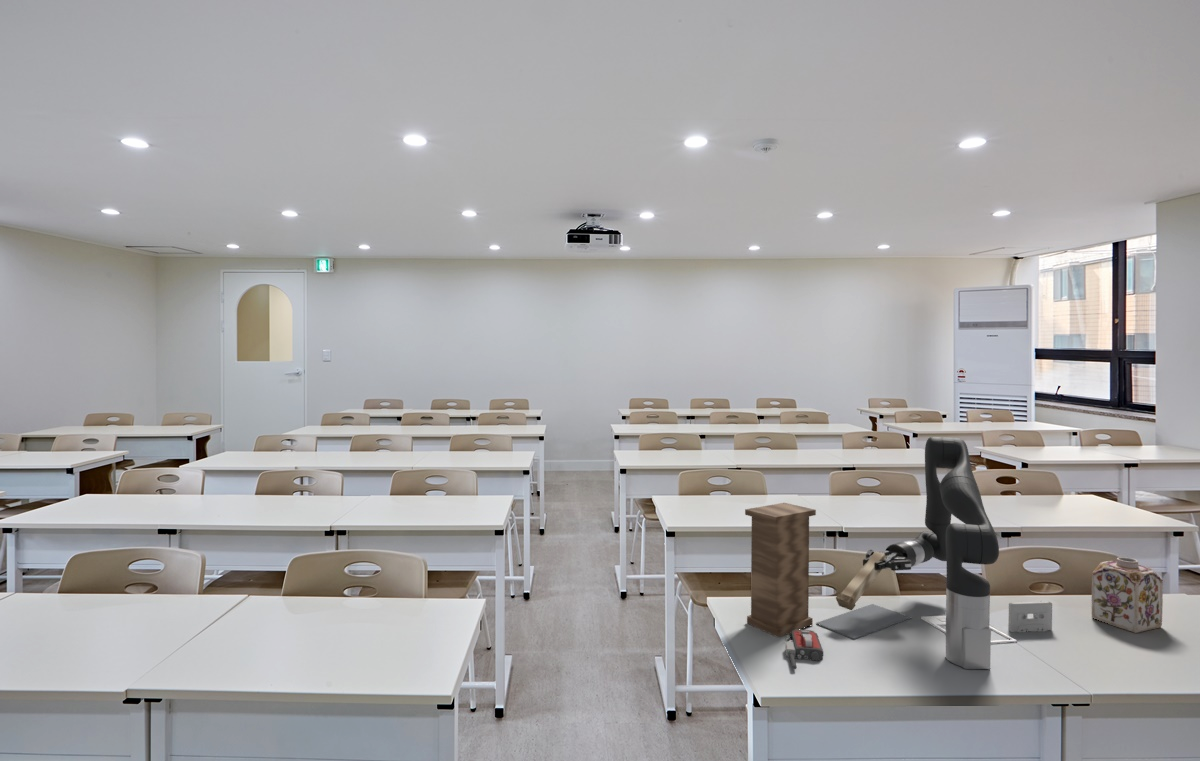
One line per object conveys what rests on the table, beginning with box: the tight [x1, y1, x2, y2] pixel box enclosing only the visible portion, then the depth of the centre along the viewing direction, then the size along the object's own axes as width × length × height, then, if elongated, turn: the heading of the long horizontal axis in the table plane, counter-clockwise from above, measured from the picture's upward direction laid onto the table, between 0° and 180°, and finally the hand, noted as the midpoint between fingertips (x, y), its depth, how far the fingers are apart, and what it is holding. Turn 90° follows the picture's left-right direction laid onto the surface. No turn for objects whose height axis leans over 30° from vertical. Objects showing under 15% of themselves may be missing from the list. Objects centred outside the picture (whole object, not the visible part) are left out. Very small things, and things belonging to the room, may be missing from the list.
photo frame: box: [920, 614, 1018, 645], centre depth 175 cm, size 15×1×18 cm
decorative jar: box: [1091, 556, 1164, 634], centre depth 180 cm, size 12×12×18 cm
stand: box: [744, 502, 817, 638], centre depth 179 cm, size 16×11×32 cm
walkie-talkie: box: [785, 629, 824, 670], centre depth 160 cm, size 9×4×20 cm
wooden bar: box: [835, 551, 887, 611], centre depth 181 cm, size 20×4×3 cm
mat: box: [816, 603, 911, 640], centre depth 181 cm, size 26×12×1 cm, turn 123°
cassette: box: [1007, 601, 1053, 633], centre depth 175 cm, size 12×2×8 cm, turn 94°
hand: (870, 565), depth 182 cm, fingers closed on wooden bar, 3 cm apart
